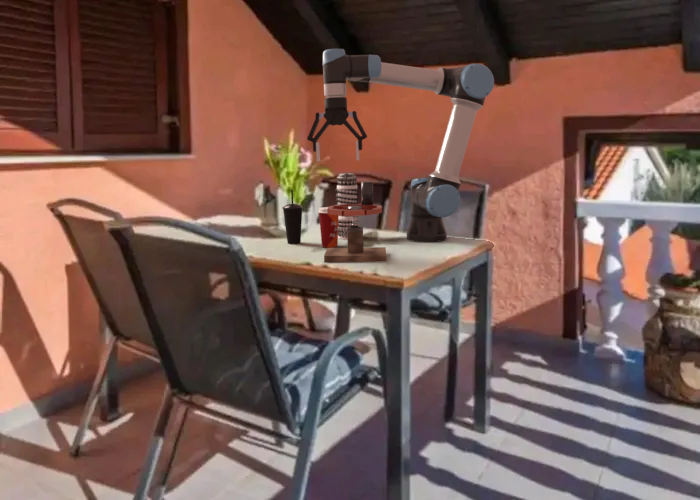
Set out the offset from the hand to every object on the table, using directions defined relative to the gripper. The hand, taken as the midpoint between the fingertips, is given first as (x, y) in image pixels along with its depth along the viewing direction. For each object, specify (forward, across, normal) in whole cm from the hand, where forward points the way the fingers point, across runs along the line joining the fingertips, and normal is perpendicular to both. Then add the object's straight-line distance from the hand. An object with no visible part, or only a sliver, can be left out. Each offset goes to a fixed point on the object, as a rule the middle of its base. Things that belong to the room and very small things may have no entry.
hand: (338, 161), depth 229 cm
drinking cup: (+31, +20, -15) cm, 40 cm away
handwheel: (+22, -6, +12) cm, 26 cm away
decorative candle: (+32, +1, -27) cm, 41 cm away
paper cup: (+31, +6, -8) cm, 33 cm away
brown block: (+31, -6, +12) cm, 34 cm away
